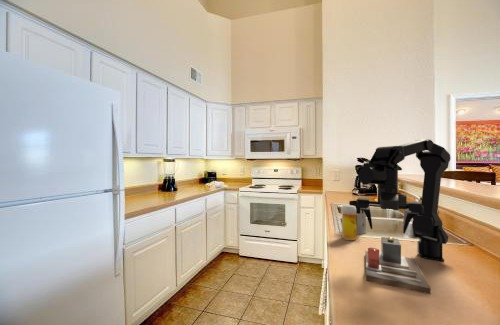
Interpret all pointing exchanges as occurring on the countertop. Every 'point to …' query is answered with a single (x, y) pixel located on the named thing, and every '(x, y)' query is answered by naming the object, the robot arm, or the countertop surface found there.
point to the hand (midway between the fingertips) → (387, 231)
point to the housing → (391, 250)
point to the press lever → (373, 260)
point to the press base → (399, 275)
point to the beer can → (349, 222)
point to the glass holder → (359, 219)
